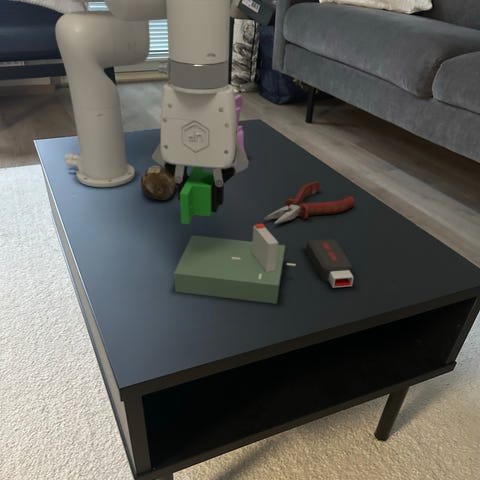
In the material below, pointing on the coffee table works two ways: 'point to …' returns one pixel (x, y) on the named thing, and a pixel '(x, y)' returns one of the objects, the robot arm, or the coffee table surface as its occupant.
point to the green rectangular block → (227, 270)
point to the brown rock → (158, 183)
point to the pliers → (309, 206)
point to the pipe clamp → (196, 195)
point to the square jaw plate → (264, 247)
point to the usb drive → (330, 262)
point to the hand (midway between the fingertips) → (201, 205)
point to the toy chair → (239, 128)
